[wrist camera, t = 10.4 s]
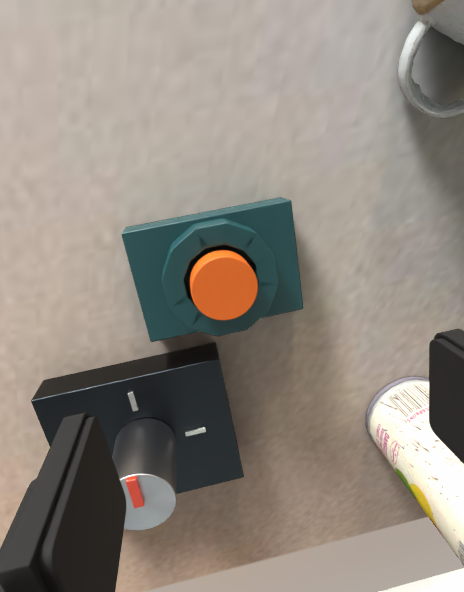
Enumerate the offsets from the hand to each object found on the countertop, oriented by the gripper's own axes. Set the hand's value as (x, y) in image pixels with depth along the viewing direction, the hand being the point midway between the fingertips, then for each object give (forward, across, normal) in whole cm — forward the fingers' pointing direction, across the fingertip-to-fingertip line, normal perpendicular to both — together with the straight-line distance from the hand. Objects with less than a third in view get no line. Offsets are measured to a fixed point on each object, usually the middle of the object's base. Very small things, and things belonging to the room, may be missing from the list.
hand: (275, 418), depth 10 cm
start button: (+13, 0, 0) cm, 13 cm away
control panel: (+16, +7, +10) cm, 20 cm away
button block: (+16, 0, 0) cm, 16 cm away
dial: (+14, +7, +10) cm, 19 cm away
